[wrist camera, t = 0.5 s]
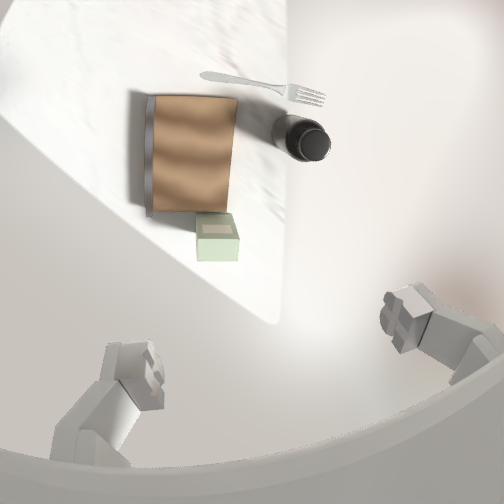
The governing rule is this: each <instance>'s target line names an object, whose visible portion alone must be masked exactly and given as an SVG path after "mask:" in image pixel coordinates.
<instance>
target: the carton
mask: <svg viewBox="0 0 504 504" xmlns="http://www.w3.org/2000/svg"><path fill="white" fill-rule="evenodd" d="M239 241H240V239H239V235H238V232H237V229H236V226H235V223H234V220H233V216H232V214H202V213H197V215H196V248H197V261H238V251H239Z"/></svg>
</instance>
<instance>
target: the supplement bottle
mask: <svg viewBox="0 0 504 504" xmlns="http://www.w3.org/2000/svg"><path fill="white" fill-rule="evenodd" d="M272 139H273V141H274V143H275V145H276V146H277V147H278V148H279V149H281V150H282V151H284V152H285V153H287V154H288V155H289V156H291V157H292V158H294V159H296V160H298V161H301V162H310V161H319V160H322V159H324V158H325V157H326V156H327V155H328V154H329V152H330V149H331V141H330V138H329V136H328V135H327V133H326V132H325V130H324V128H323V127H322V126H321V125H320V124H319V123H317V122H316V121H313V120H310V119H307V118H304V117H300V116H296V115H285V116H283V117H281V118H279V119H278V120H277V121H276V122H275V124H274V126H273V128H272Z"/></svg>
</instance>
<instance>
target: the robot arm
mask: <svg viewBox="0 0 504 504" xmlns="http://www.w3.org/2000/svg"><path fill="white" fill-rule="evenodd" d="M384 302H385V306H384V307H383V308H382V310H381V313H380V323H381V326H382V329H383V330H384V332H385V333H386V334H388V335H390V336H392V343H393V345H394V346H395V348H396V349H397V351H398V352H399V353H400V354H402V353H405V352H408V351H410V350H413V349H416V348H418V349H419V350H421V351H423V352H424V353H426V354H427V355H429V356H431V357H433V358H434V359H436V360H437V361H439V362H441V363H442V364H444V365H446V366H447V367H449V368H450V369H452V370H454V373H453V375H452V376H451V378H450V380H449V384H450V385H451V387H449V388H447V389H445V390H443V391H441V392H440V393H438V394H436V395H434V396H432V397H430V398H428V399H426V400H425V401H423V402H420V403H418V404H416V405H414V406H412V407H410V408H408V409H406V410H404V411H402V412H399V413H397V414H395V415H393V416H390V417H388V418H386V419H383V420H381V421H378V422H376V423H373V424H371V425H368V426H366V427H363V428H360V429H358V430H355V431H352V432H349V433H347V434H344V435H340V436H337V437H334V438H331V439H328V440H325V441H321V442H318V443H315V444H311V445H307V446H304V447H300V448H297V449H292V450H288V451H284V452H279V453H275V454H271V455H265V456H260V457H255V458H250V459H244V460H238V461H231V462H224V463H217V464H207V465H197V466H185V467H167V468H166V467H165V468H131V463H130V462H129V461H128V460H127V459H126V458H125V457H123V456H122V455H121V454H120V453H119V452H117V451H118V450H119V448H120V446H121V445H122V443H123V441H124V440H125V438H126V436H127V434H128V433H129V431H130V430H131V428H132V427H133V425H134V423H135V421H136V420H137V418H138V417H139V415H140V413H141V412H140V411H149V410H158V409H164V391H163V390H162V388H161V386H162V384H163V383H164V369H163V364H162V361H161V359H160V357H159V355H157V354H155V346H154V344H153V342H152V340H150V339H148V340H138V341H126V342H117V343H109V344H108V345H107V346H106V350H105V355H104V359H103V364H102V369H101V374H100V379H99V381H96V382H95V383H94V384H93V385H92V386H91V387H90V388H89V389H88V390H87V391H86V392H85V393H84V395H83V396H82V397H81V398H80V399H79V400H78V401H77V403H75V405H74V406H73V407H72V408H71V409H70V410H69V412H68V413H67V414H66V415H65V416H64V417H63V418H62V419H61V420H60V422H59V423H58V424H57V425H56V426H55V431H54V436H53V442H52V448H51V454H50V460H48V459H43V458H38V457H33V456H29V455H24V454H20V453H16V452H12V451H8V450H5V449H1V448H0V504H504V334H503V333H502V332H501V331H500V329H499V328H498V327H497V326H496V325H495V324H492V323H490V322H487V321H485V320H482V319H480V318H477V317H475V316H472V315H470V314H467V313H465V312H462V311H460V310H457V309H455V308H452V307H450V306H446V307H445V306H444V305H443V304H442V303H441V302H440V301H439V300H438V299H437V298H436V297H435V296H434V295H433V293H431V292H430V290H429V289H427V288H426V286H425V285H424V284H423V283H420V282H417V283H414V284H411V285H409V286H405V287H402V288H398V289H395V290H391V291H388V292H387V293H386V294H385V296H384Z"/></svg>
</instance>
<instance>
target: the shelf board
mask: <svg viewBox="0 0 504 504" xmlns="http://www.w3.org/2000/svg"><path fill="white" fill-rule="evenodd" d="M236 108H237V99H229V98H214V97H192V96H148V102H147V106H146V123H145V158H144V184H145V208H146V217H152V215H153V211H194V212H226V210H227V199H228V188H229V177H230V166H231V156H232V146H233V136H234V126H235V117H236Z"/></svg>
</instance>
